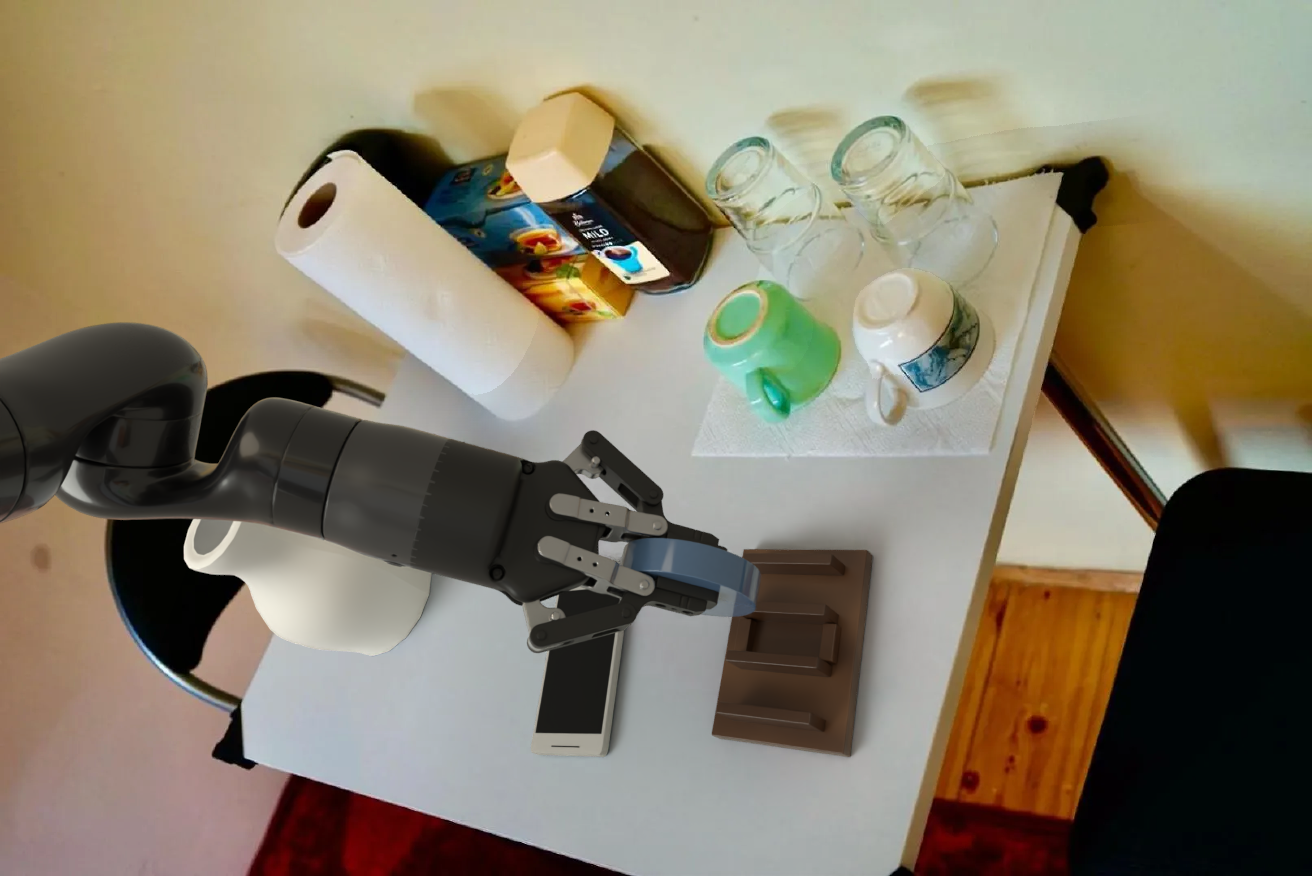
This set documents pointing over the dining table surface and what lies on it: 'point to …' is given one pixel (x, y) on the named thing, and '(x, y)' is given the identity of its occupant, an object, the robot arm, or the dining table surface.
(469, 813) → the dining table surface
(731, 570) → the disc
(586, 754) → the smartphone
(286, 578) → the vase
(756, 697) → the rack
